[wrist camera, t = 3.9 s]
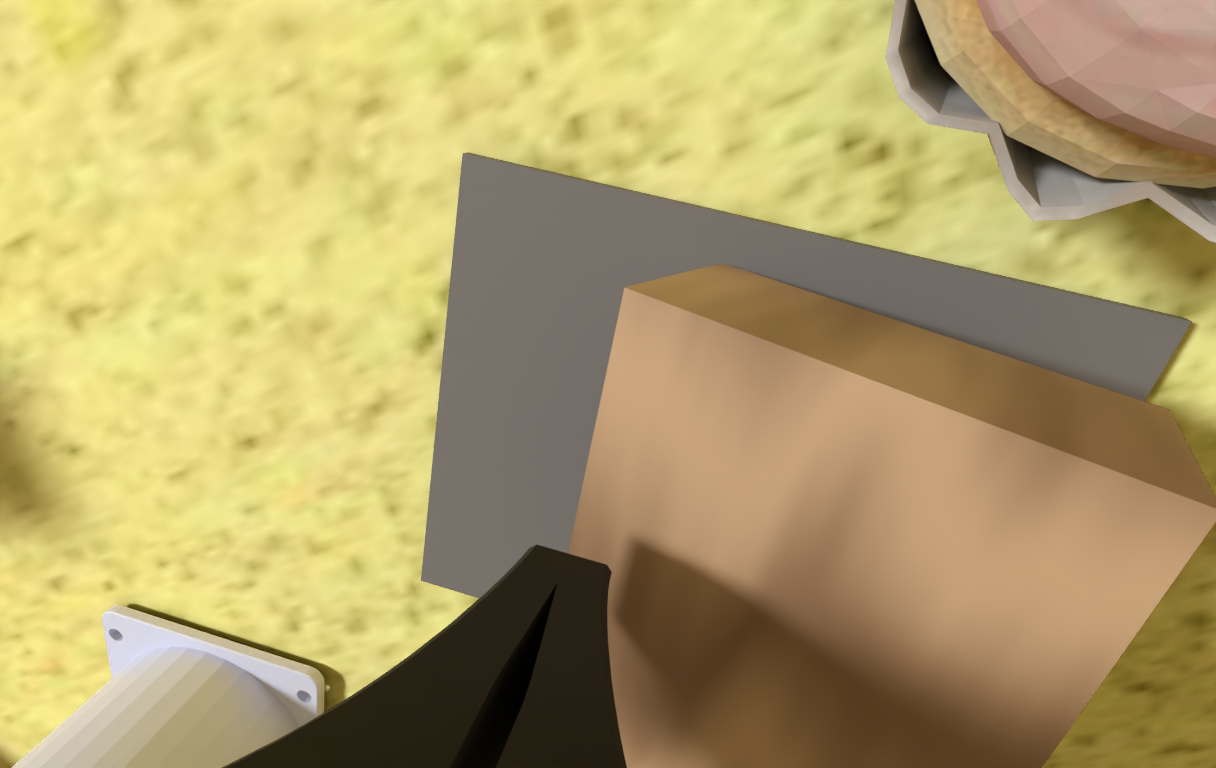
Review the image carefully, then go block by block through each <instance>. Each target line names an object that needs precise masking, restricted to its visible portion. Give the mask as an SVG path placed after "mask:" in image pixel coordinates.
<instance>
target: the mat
mask: <svg viewBox="0 0 1216 768" xmlns="http://www.w3.org/2000/svg"><path fill="white" fill-rule="evenodd" d="M720 263H724V264H727V265H730V266H733V267H736V268H739V269H742V270H745V271H748V272H751V273H755V274H758V275H761V276H764V277H767V278H770V279H773V280H776V281H779V282H782V283H785V284H788V285H791V286H794V287H797V288H800V289H803V290H806V291H809V292H812V293H815V294H818V295H821V296H825V297H828V298H831V299H834V300H837V301H840V302H843V303H846V304H849V305H852V306H855V307H858V308H861V309H864V310H867V311H870V312H873V313H876V314H879V315H882V316H885V317H888V318H891V319H895V320H898V321H901V322H904V323H907V324H910V325H913V326H916V327H919V328H922V329H925V330H928V331H931V332H934V333H937V334H940V335H943V336H946V337H949V338H952V339H955V340H958V341H962V342H965V343H968V344H971V345H974V346H977V347H980V348H983V349H986V350H989V351H992V352H995V353H998V354H1001V355H1004V356H1007V357H1010V358H1013V359H1016V360H1019V361H1022V362H1025V363H1028V364H1032V365H1035V366H1038V367H1041V368H1044V369H1047V370H1050V371H1053V372H1056V373H1059V374H1062V375H1065V376H1068V377H1071V378H1074V379H1077V380H1080V381H1083V382H1086V383H1089V384H1092V385H1095V386H1098V387H1102V388H1105V389H1108V390H1111V391H1114V392H1117V393H1120V394H1123V395H1126V396H1129V397H1132V398H1135V399H1138V400H1141V401H1145V400H1146V398H1147V396H1148V394H1149V393H1150V391H1151V389H1152V388H1153V386H1154V384H1155V383H1156V381H1157V379H1158V378H1159V376H1160V374H1161V373H1162V371H1163V369H1164V368H1165V366H1166V364H1167V363H1168V361H1169V359H1170V358H1171V356H1172V354H1173V353H1174V351H1175V349H1176V348H1177V346H1178V344H1179V343H1180V341H1181V339H1182V338H1183V336H1184V334H1185V333H1186V331H1187V329H1188V328H1189V326H1190V324H1191V322H1192V321H1189V320H1187V319H1185V318H1183V317H1179V316H1175V315H1170V314H1166V313H1162V312H1157V311H1153V310H1149V309H1144V308H1140V307H1136V306H1131V305H1127V304H1123V303H1118V302H1114V301H1110V300H1105V299H1101V298H1097V297H1092V296H1088V295H1084V294H1079V293H1075V292H1071V291H1066V290H1062V289H1058V288H1053V287H1049V286H1045V285H1040V284H1036V283H1032V282H1027V281H1023V280H1019V279H1014V278H1010V277H1005V276H1001V275H997V274H992V273H988V272H984V271H979V270H975V269H971V268H966V267H962V266H958V265H953V264H949V263H945V262H940V261H936V260H932V259H927V258H923V257H919V256H914V255H910V254H906V253H901V252H897V251H893V250H888V249H884V248H880V247H875V246H871V245H867V244H862V243H858V242H854V241H849V240H845V239H841V238H836V237H832V236H828V235H823V234H819V233H815V232H810V231H806V230H802V229H797V228H793V227H789V226H784V225H780V224H776V223H771V222H767V221H763V220H758V219H754V218H750V217H745V216H741V215H737V214H732V213H728V212H724V211H719V210H715V209H711V208H706V207H702V206H698V205H693V204H689V203H685V202H680V201H676V200H671V199H667V198H663V197H658V196H654V195H650V194H645V193H641V192H637V191H632V190H628V189H624V188H619V187H615V186H611V185H606V184H602V183H598V182H593V181H589V180H585V179H580V178H576V177H572V176H567V175H563V174H559V173H554V172H550V171H546V170H541V169H537V168H533V167H528V166H524V165H520V164H515V163H511V162H507V161H502V160H498V159H494V158H489V157H485V156H481V155H476V154H472V153H463V156H462V166H461V176H460V187H459V197H458V207H457V217H456V228H455V238H454V248H453V258H452V269H451V279H450V289H449V299H448V310H447V320H446V330H445V340H444V351H443V361H442V371H441V381H440V392H439V402H438V412H437V422H436V433H435V443H434V453H433V463H432V474H431V484H430V494H429V504H428V515H427V525H426V535H425V545H424V556H423V566H422V576H421V581H424V582H427V583H431V584H434V585H437V586H441V587H444V588H447V589H451V590H454V591H457V592H461V593H464V594H467V595H470V596H474V597H477V598H480V597H482V596H483V595H484V594H485V593H486V592H487V591H488V590H489V589H490V588H491V587H492V586H493V585H494V584H496V583H497V582H498V581H499V580H500V579H501V578H502V577H503V576H504V575H505V574H506V573H507V572H508V571H509V570H510V569H511V568H512V567H513V566H514V565H515V564H516V562H517V561H518V560H519V559H520V558H521V557H522V556H523V555H524V554H525V553H526V551H527V550H528V549H529V548H530V547H533V546H535V545H541V546H544V547H548V548H551V549H554V550H558V551H561V552H565V553H568V551H569V546H570V542H571V537H572V532H573V528H574V523H575V518H576V513H577V509H578V504H579V499H580V495H581V490H582V485H583V480H584V476H585V471H586V466H587V462H588V457H589V452H590V447H591V443H592V438H593V433H594V429H595V424H596V419H597V414H598V410H599V405H600V400H601V396H602V391H603V386H604V381H605V377H606V372H607V367H608V363H609V358H610V353H611V348H612V344H613V339H614V334H615V330H616V325H617V320H618V315H619V311H620V306H621V301H622V296H623V292H624V287H628V286H632V285H636V284H640V283H644V282H648V281H652V280H656V279H660V278H664V277H668V276H672V275H676V274H680V273H684V272H688V271H692V270H696V269H700V268H704V267H708V266H712V265H716V264H720Z"/></svg>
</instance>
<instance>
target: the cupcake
mask: <svg viewBox="0 0 1216 768" xmlns="http://www.w3.org/2000/svg"><path fill="white" fill-rule="evenodd" d="M886 61H887V64H888V67H889V70H890V73H891V76H892V79H893V81H894V84H895V87H896V90H897V93H898V96H899V98H900V99H901V100H902V101H903V102H904V103H905V104H907V105H908V106H909V107H910V108H911V109H912V110H913V111H914V112H915V113H917V114H918V115H919V116H920V117H921V118H922V119H923V120H924V121H925V122H927V123H928V124H931V125H937V126H943V127H949V128H955V129H961V130H967V131H973V132H979V133H985V134H987V135H988V137H989V140H990V143H991V145H992V148H993V151H994V154H995V156H996V159H997V162H998V164H999V167H1000V170H1001V173H1002V175H1003V178H1004V181H1005V183H1006V186H1007V189H1008V192H1009V193H1010V194H1011V195H1012V197H1013V198H1014V199H1015V200H1016V201H1017V203H1018V204H1019V205H1020V206H1021V208H1022V209H1023V210H1024V211H1025V212H1026V214H1027V215H1028V216H1029V217H1030V219H1031V220H1032V221H1043V220H1068V219H1079V218H1082V217H1085V216H1089V215H1092V214H1095V213H1099V212H1102V211H1105V210H1109V209H1112V208H1116V207H1119V206H1122V205H1126V204H1129V203H1132V202H1136V201H1139V200H1142V199H1146V198H1149V199H1150V200H1152V201H1153V202H1155V203H1156V204H1157V205H1159V206H1160V207H1162V208H1163V209H1165V210H1166V211H1167V212H1169V213H1170V214H1172V215H1173V216H1174V217H1176V218H1177V219H1179V220H1180V221H1181V222H1183V223H1184V224H1186V225H1187V226H1189V227H1190V228H1191V229H1193V230H1194V231H1196V232H1197V233H1198V234H1200V235H1201V236H1203V237H1204V238H1206V239H1207V240H1208V241H1211V242H1214V243H1216V0H895V7H894V12H893V18H892V24H891V30H890V35H889V41H888V47H887V53H886Z"/></svg>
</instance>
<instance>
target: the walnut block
mask: <svg viewBox="0 0 1216 768" xmlns="http://www.w3.org/2000/svg"><path fill="white" fill-rule="evenodd" d="M1215 522H1216V497H1215V495H1214V493H1213V491H1212V489H1211V487H1210V486H1209V484H1208V482H1207V480H1206V478H1205V476H1204V474H1203V472H1202V470H1201V468H1200V467H1199V465H1198V463H1197V461H1196V459H1195V457H1194V455H1193V453H1192V451H1191V450H1190V448H1189V446H1188V444H1187V442H1186V440H1185V438H1184V436H1183V434H1182V432H1181V431H1180V429H1179V427H1178V425H1177V423H1176V421H1175V419H1174V417H1173V415H1172V414H1171V412H1170V410H1169V409H1165V408H1162V407H1159V406H1156V405H1153V404H1150V403H1147V402H1144V401H1141V400H1138V399H1135V398H1132V397H1129V396H1126V395H1123V394H1120V393H1117V392H1114V391H1111V390H1108V389H1105V388H1102V387H1098V386H1095V385H1092V384H1089V383H1086V382H1083V381H1080V380H1077V379H1074V378H1071V377H1068V376H1065V375H1062V374H1059V373H1056V372H1053V371H1050V370H1047V369H1044V368H1041V367H1038V366H1035V365H1032V364H1028V363H1025V362H1022V361H1019V360H1016V359H1013V358H1010V357H1007V356H1004V355H1001V354H998V353H995V352H992V351H989V350H986V349H983V348H980V347H977V346H974V345H971V344H968V343H965V342H962V341H958V340H955V339H952V338H949V337H946V336H943V335H940V334H937V333H934V332H931V331H928V330H925V329H922V328H919V327H916V326H913V325H910V324H907V323H904V322H901V321H898V320H895V319H891V318H888V317H885V316H882V315H879V314H876V313H873V312H870V311H867V310H864V309H861V308H858V307H855V306H852V305H849V304H846V303H843V302H840V301H837V300H834V299H831V298H828V297H825V296H821V295H818V294H815V293H812V292H809V291H806V290H803V289H800V288H797V287H794V286H791V285H788V284H785V283H782V282H779V281H776V280H773V279H770V278H767V277H764V276H761V275H758V274H755V273H751V272H748V271H745V270H742V269H739V268H736V267H733V266H730V265H727V264H724V263H720V264H716V265H712V266H708V267H704V268H700V269H696V270H692V271H688V272H684V273H680V274H676V275H672V276H668V277H664V278H660V279H656V280H652V281H648V282H644V283H640V284H636V285H632V286H628V287H624V292H623V296H622V301H621V306H620V311H619V315H618V320H617V325H616V330H615V334H614V339H613V344H612V348H611V353H610V358H609V363H608V367H607V372H606V377H605V381H604V386H603V391H602V396H601V400H600V405H599V410H598V414H597V419H596V424H595V429H594V433H593V438H592V443H591V447H590V452H589V457H588V462H587V466H586V471H585V476H584V480H583V485H582V490H581V495H580V499H579V504H578V509H577V513H576V518H575V523H574V528H573V532H572V537H571V542H570V546H569V551H568V554H572V555H575V556H579V557H582V558H586V559H589V560H593V561H596V562H599V563H603V564H606V565H608V567H609V569H610V570H611V572H612V574H611V578H610V583H609V590H608V606H607V625H608V646H609V657H610V668H611V678H612V686H613V694H614V701H615V707H616V713H617V719H618V725H619V731H620V736H621V742H622V747H623V752H624V756H625V761H626V765H627V768H1042V767H1043V765H1044V764H1045V762H1046V761H1047V760H1048V758H1049V757H1050V755H1051V754H1052V752H1053V751H1054V750H1055V748H1056V747H1057V745H1058V744H1059V743H1060V741H1061V740H1062V738H1063V737H1064V736H1065V734H1066V733H1067V731H1068V730H1069V728H1070V727H1071V726H1072V724H1073V723H1074V721H1075V720H1076V719H1077V717H1078V716H1079V714H1080V713H1081V712H1082V710H1083V709H1084V707H1085V706H1086V704H1087V703H1088V702H1089V700H1090V699H1091V697H1092V696H1093V695H1094V693H1095V692H1096V690H1097V689H1098V688H1099V686H1100V685H1101V683H1102V682H1103V680H1104V679H1105V678H1106V676H1107V675H1108V673H1109V672H1110V671H1111V669H1112V668H1113V666H1114V665H1115V664H1116V662H1117V661H1118V659H1119V658H1120V656H1121V655H1122V654H1123V652H1124V651H1125V649H1126V648H1127V647H1128V645H1129V644H1130V642H1131V641H1132V640H1133V638H1134V637H1135V635H1136V634H1137V632H1138V631H1139V630H1140V628H1141V627H1142V625H1143V624H1144V623H1145V621H1146V620H1147V618H1148V617H1149V616H1150V614H1151V613H1152V611H1153V610H1154V608H1155V607H1156V606H1157V604H1158V603H1159V601H1160V600H1161V599H1162V597H1163V596H1164V594H1165V593H1166V592H1167V590H1168V589H1169V587H1170V586H1171V584H1172V583H1173V582H1174V580H1175V579H1176V577H1177V576H1178V575H1179V573H1180V572H1181V570H1182V569H1183V567H1184V566H1185V565H1186V563H1187V562H1188V560H1189V559H1190V558H1191V556H1192V555H1193V553H1194V552H1195V551H1196V549H1197V548H1198V546H1199V545H1200V543H1201V542H1202V541H1203V539H1204V538H1205V536H1206V535H1207V534H1208V532H1209V531H1210V529H1211V528H1212V527H1213V525H1214V524H1215Z"/></svg>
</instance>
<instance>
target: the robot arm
mask: <svg viewBox="0 0 1216 768" xmlns="http://www.w3.org/2000/svg"><path fill="white" fill-rule="evenodd" d="M611 574H612V572H611V570H610V569H609V567H608V565H606V564H603V563H599V562H596V561H593V560H589V559H586V558H582V557H579V556H575V555H572V554H568V553H565V552H561V551H558V550H554V549H551V548H548V547H544V546H541V545H535V546H533V547H530V548H529V549H528V550H527V551H526V553H525V554H524V555H523V556H522V557H521V558H520V559H519V560H518V561H517V562H516V564H515V565H514V566H513V567H512V568H511V569H510V570H509V571H508V572H507V573H506V574H505V575H504V576H503V577H502V578H501V579H500V580H499V581H498V582H497V583H496V584H494V585H493V586H492V587H491V588H490V589H489V590H488V591H487V592H486V593H485V594H484V595H483V596H482V597H480V598H479V599H478V600H477V601H476V602H475V603H474V604H473V605H471V606H470V607H469V608H468V609H467V610H466V611H465V612H463V613H462V614H461V615H460V616H459V617H458V618H457V619H455V620H454V621H453V622H452V623H451V624H450V625H448V626H447V627H446V628H445V629H443V630H442V631H441V632H439V633H438V634H437V635H436V636H434V637H433V638H432V639H430V640H429V641H428V642H427V643H425V644H424V645H423V646H422V647H420V648H419V649H418V650H416V651H415V652H414V653H413V654H411V655H410V656H409V657H407V658H406V659H405V660H403V661H402V662H400V663H399V664H398V665H396V666H395V667H393V668H392V669H391V670H389V671H388V672H386V673H385V674H383V675H382V676H381V677H379V678H378V679H376V680H375V681H373V682H372V683H370V684H369V685H367V686H366V687H364V688H363V689H361V690H359V691H358V692H356V693H355V694H353V695H352V696H350V697H349V698H347V699H345V700H344V701H342V702H340V703H339V704H337V705H335V706H334V707H332V708H331V709H329V710H327V711H326V712H324V684H325V682H324V677H323V675H322V674H321V672H319V671H318V670H317V669H316V668H313V667H311V666H308V665H305V664H302V663H299V662H296V661H293V660H289V659H286V658H283V657H280V656H277V655H274V654H271V653H268V652H265V651H261V650H258V649H255V648H252V647H249V646H246V645H243V644H240V643H237V642H234V641H230V640H227V639H224V638H221V637H218V636H215V635H212V634H209V633H206V632H202V631H199V630H196V629H193V628H190V627H187V626H184V625H181V624H178V623H175V622H171V621H168V620H165V619H162V618H159V617H156V616H153V615H150V614H147V613H143V612H140V611H137V610H134V609H131V608H128V607H125V606H121V605H115V606H112V607H111V608H110V609H108V610H107V611H106V612H105V613H104V614H103V617H102V621H103V627H104V633H105V639H106V645H107V651H108V657H109V663H110V669H111V675H112V679H111V680H109V681H108V682H107V683H106V684H105V685H104V686H103V687H102V688H100V689H99V690H98V691H97V692H96V693H95V694H94V695H93V696H91V697H90V698H89V699H88V700H87V701H86V702H85V703H84V704H82V705H81V706H80V707H79V708H78V709H77V710H76V711H75V712H73V713H72V714H71V715H70V716H69V717H68V718H67V719H66V720H64V721H63V722H62V723H61V724H60V725H59V726H58V727H57V728H55V729H54V730H53V731H52V732H51V733H50V734H49V735H47V736H46V737H45V738H44V739H43V740H42V741H41V742H40V743H38V744H37V745H36V746H35V747H34V748H33V749H32V750H31V751H29V752H28V753H27V754H26V755H25V756H24V757H23V758H22V759H20V760H19V761H18V762H17V763H16V764H15V765H14V766H13V767H11V768H627V765H626V761H625V756H624V752H623V747H622V742H621V736H620V731H619V725H618V719H617V713H616V707H615V701H614V694H613V686H612V678H611V668H610V657H609V646H608V625H607V606H608V590H609V583H610V578H611Z"/></svg>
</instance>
